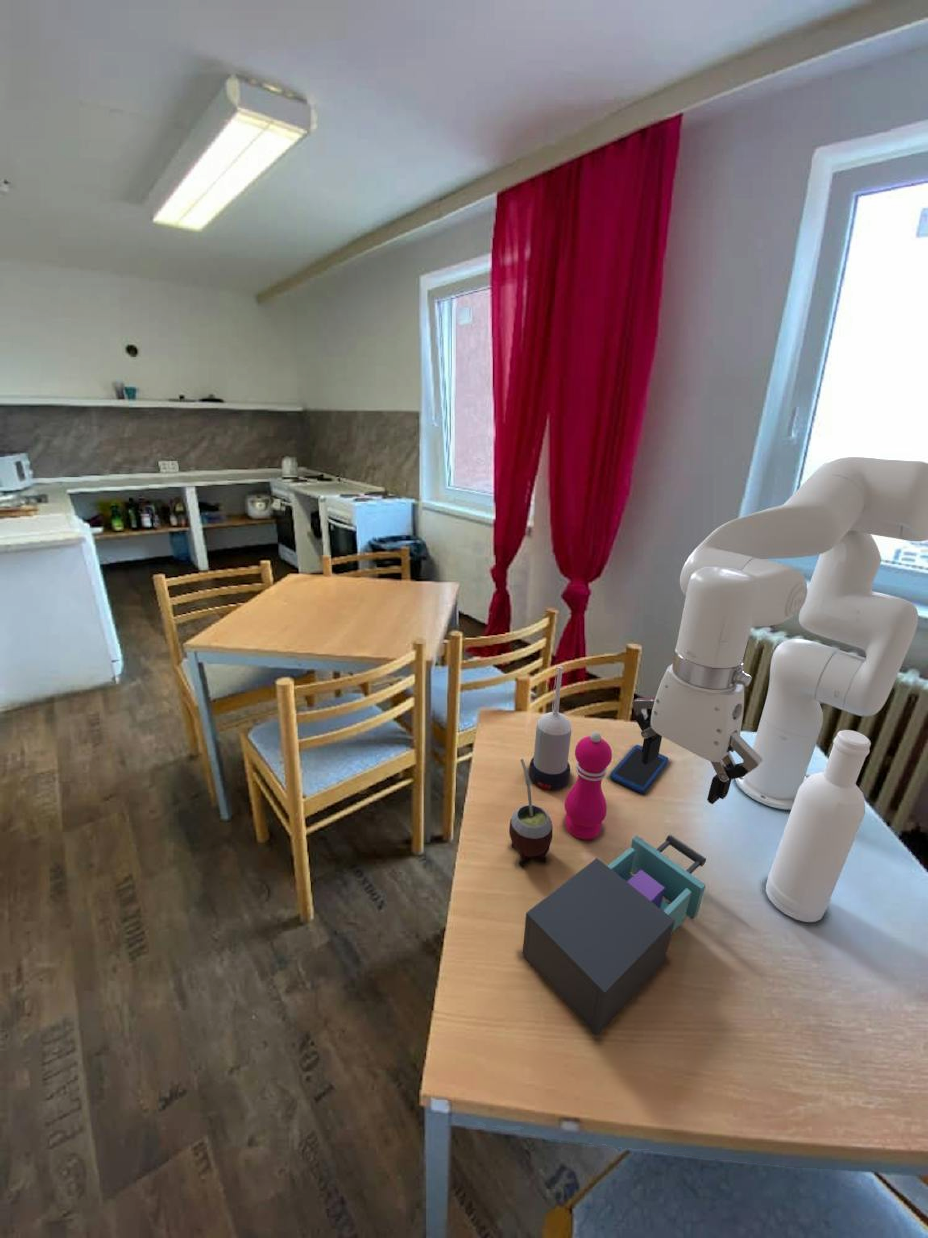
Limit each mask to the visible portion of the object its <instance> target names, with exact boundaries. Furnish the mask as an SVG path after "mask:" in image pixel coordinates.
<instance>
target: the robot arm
mask: <svg viewBox="0 0 928 1238" xmlns="http://www.w3.org/2000/svg"><path fill="white" fill-rule="evenodd" d="M873 536H878V537H885V538H890V539H897V540H902V541H908V542H909V541H910V542H925V541H928V462H926V461H921V460H916V459H906V458H905V459H904V458H891V457H877V456H866V455H842V456H837V457H835V458H831V459H830V460H828V461H826V462H825V463H823V464H821V466H819V467H818V468H817V469H816V470H815V471H814V472H813V473H812V474H811V475H810V476H809V477H808V479H806V480H805V482H804V483H802V484H801V486H800V487H799V488H798V489H797V490H796V491H794V493H793V494H792V495H791V496H790V497H789V498H788V499H787V500H786V501H785V502H784V503H783V504H781V505H777V506H773V507H769V508H766V509H763V510H759V511H756V512H753V513H750V514H746V515H744V516H740V517H737V518H734V519H732V520H730V521H729V520H728V522H725V523H723V524H722V525H720V526H718V527H717V528H716V529H714V530H713V531H711V533H710V534H709V535H708V536H707V537H705V539H704V540H702V542H700V544H698V546H697V547H696V548H695V549H694V550H693V551H692V552H691V554H690V555H689V556H688V558H687V559H686V560H685V562H684V563H683V564H684V565H683V566H682V569H681V572H680V574H679V575H680V576H679V586H680V590H681V592H682V594H683V595H684V596H685V599H684V605H683V611H682V615H681V620H680V625H679V632H678V637H677V640H676V641H677V642H676V646H675V651H674V656H673V661H672V663H671V664H670V665H668V666H667V668H666V670H665V672H664V674H663V677H662V679H661V681H660V683H659V686H658V689H657V692H656V694H655V697H637V698H636V699H634V700H632V704H631V705H632V707H633V712H634V715H636V716H635V721H636V723H637V725H638V726H639V729H640V730H641V731H640V735H641V738H642V739H643V741H642V753H643V757H642V763H643V764H645V765H646V764H649V763H650V762H652V761H653V760H655V759H656V758H657V757H658V755H659V754H660V750H661V744H662V739H663V738H664V739H666V740H668V741H670V742H671V743H673V744H675V745H677V746H679V747H681V748H683V749H685V750H687V751H688V752H691V753H692V754H694V755H697V756H698V757H700V758H702V759H703V760H706V761H708V762H710V763H711V765H712V767H713V769H714V771H715V775H714V776H713V777H712V779H711V782H710V787H709V791H708V795H707V798H706V800H707V802H708V803H709V804H711V805H714V804H715V803H716V802H717V801H718V800H720V799H721V800H724V799H725V798H726V797H727V795H728V793H729V791H730V787H731V784H732V780H735V782H736V784H737V786H738V788H740V789H741V791H742V792H743V793H744V794H746V795H747V796H749V798H751V799H752V800H754V801H756V802H758V803H760V804H762V805H765V806H768V807H770V808H775V809H777V810H778V809H779V810H786V811H787V810H788V811H791V810H792V807H793V804H794V801H795V798H796V795H797V792H798V789H799V787H800V785H801V784H802V783H803V782H804V781H805V780H806V779H807V778H808V777H809V776H810V775H811V774H808V773H807V771H808V768H809V766H810V763H811V760H812V757H813V754H814V751H815V748H816V746H817V743H818V739H819V736H820V734H821V732H822V731H821V730H822V728H823V724H824V713H823V709H822V706H821V704H820V703H823V704H825V705H828V706H832V707H833V708H836V709H838V710H841V711H843V712H847V713H849V714H853V715H855V716H859V717H865V718H866V717H867V718H868V717H872V716H875V715H877V713H879V712H880V711H881V710H882V708H883V707H884V706H885V704H886V702H887V700H888V698H889V696H890V693H891V692H892V689H893V687H894V684H895V682H896V680H897V677H898V675H899V672H900V671H901V667H902V665H903V663H904V660H905V658H906V656H907V653H908V651H909V649H910V646H911V645H912V642H913V639H914V637H915V633H916V631H917V627H918V623H919V611H918V609H917V607H916V606H915V604H914V603H913V602H911V601H909V600H907V599H905V598H902V597H899V596H895V595H891V594H886V593H882V592H878V591H874V590H873V584H874V581H875V579H876V576H877V574H878V571H879V569H880V567H881V563H882V556H881V552H880V550H879V548H878V545H877V543H876V540H875V539H874V537H873ZM814 556H818V559H817V562H816V564H815V568H814V570H813V573H812V576H811V578H810V581H809V583H808V582H807V580H806V577H805V576H804V574H803V573H802V572H801V571H800V570H798V569H796V568H795V567H793V566H790V565H787V564H784V563H781V562H776V561H772V560H778V559H779V560H781V559H783V560H784V559H785V560H786V559H796V558H805V557H806V558H807V557H814ZM798 613H799V614H798ZM797 614H798V622H799V624H800V626H801V628H803V630H805V631H807V632H809V633H812V634H814V635H817V636H820V637H823V638H826V639H829V640H832V641H835V642H839V643H841V644H842V643H843V644H846V645H849V646H852V647H855V648H858V649H861V650H862V651H864V653H865V657H863V656H860V655H857V654H853V653H850V652H847V651H844V650H841V649H839V648H835V647H832V646H830V645H826V644H823V643H819V642H816V641H814V640H813V641H812V640H809V639H802V638H789V639H786V640H783V641H782V642H780V643H779V644H777V646H776V648H775V649H774V650H773V653H772V655H771V659H770V667H769V682H768V689H767V694H766V698H765V703H764V706H763V709H762V713H761V717H760V720H759V722H758V723H759V724H758V727H757V730H756V734H755V738H754V741H753V745H752V746H751V745H750V744H749V743H748V742H747V741H746V740H745V739H744V738H743V737H742V736H741V733H742V725H743V718H744V710H745V709H744V708H745V687H749V685H750V684H751V682H752V679H753V676H752V675H751V674H747V672H745V671H744V667H745V662H744V658H745V654H746V649H747V645H748V641H749V637H750V634H751V631H752V629H753V628H760V627H769V626H775V625H779V624H782V623H785V622H786V621H788V620H790V619H791V618H793V617H794V616H795V615H797ZM648 709H649V710H651V715H650V714H649V712H648ZM734 752H735V753H736V754H737V755H738V756H739V757H740V758H741V759H742V762H739V763H736V762H735V759H734V758H733V755H732V754H731V753H734Z"/></svg>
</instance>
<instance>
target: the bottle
mask: <svg viewBox="0 0 928 1238" xmlns="http://www.w3.org/2000/svg"><path fill="white" fill-rule="evenodd" d="M832 742H833V745H832V748H831V751H830V753H829V756H828V759H827V762H826V764H825V768H824V771H819V772H814V773H811V774H809V775H810V776H809V777H808V778H807V779H806V780H805V781H804V782H803V783H802V784H801V785H800V787H799V789H798V792H797V795H796V798H795V801H794V804H793V807H792V810H790V812H789V816H788V817H787V818H788V819H787V821H786V823H785V824H786V825H785V828H784V831H783V833H782V836H781V840H780V842H779V845H778V848H777V851H776V854H775V856H774V860H773V863H772V866H771V869H770V870H769V873H768V875H767V881H766V884H765V892H766V895H767V897H768V899H769V901H770V902H771V903H772V904H773V905H774V906H775V908H776V909H778V910H779V911H781V913H783V914H785V915H787V916H788V917H790V918H792V919H794V920H796V921H800V922H805V923H816V922H818V921H820V920H822V918H823V916H824V914H825V912H826V911H827V909H828V907H829V905H830V903H831V898H832V895H833V893H834V891H835V888H836V886H837V883H838V881H839V878H840V877H841V874H842V872H843V869H844V866H845V864H846V861H847V859H848V857H849V854H850V851H851V849H852V846H853V844H854V842H855V839H856V837H857V834H858V832H859V829H860V827H861V825H862V823H863V819H864V817H865V815H866V803H865V797H864V796H865V795H864V793H863V791H862V790H861V789H860V787H859V786H858V785H857V781H858V778H859V775H860V773H861V770H862V767H863V766H864V762H865V760H866V757H867V756H868V755H869V754H870V751H871V750H870V748H871V745H872V742H871V740H870V739H869V738H868V737H867V736H866V735H864V734H863V733H861V732H858V731H855V730H852V729H842V730H839V731H838V732H837V734H836V736H835V737H834V738H833V740H832Z"/></svg>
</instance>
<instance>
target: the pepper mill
mask: <svg viewBox="0 0 928 1238" xmlns="http://www.w3.org/2000/svg"><path fill="white" fill-rule="evenodd" d="M574 756H575V759H576V765H575V772H576V773H577V779H576V782H575V783H574V784H573V786H572V788H571V789H570V790H569V791H568V793H567V795H566V797H565V800H564V811H565V813H566V814H565V819H564V825H565V829H566V830H567V831H568V833H569V834H570V835H572V836H573V837H575V838H577V839H581V840H587V841H588V840H593V839H595V838H597V837H598V836H599V835H600V834H601V830H602V826H603V825H602V824H603V821H605V819H606V817H607V811H608V806H607V801H606V797H605V795H604V792H603V790H602V782H603V779H605V778H606V775H607V770H608V767H609V765H610V764H611V762H612V759H613V753H612V748H611V746H610V744H609V743H608V742H607V741H606V740H605V739H603V738H602V735H601V733H600V732H599V731H592V732H591V733H590V735H589V736H585V737H583V738H581V739H580V740H579V741H578V742H577V744H576V745H575V749H574Z"/></svg>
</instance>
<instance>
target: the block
mask: <svg viewBox="0 0 928 1238" xmlns="http://www.w3.org/2000/svg"><path fill="white" fill-rule="evenodd" d="M632 876H633V877H632V878H631V879H630V880H628V881H627V882H628V883H629V884H630V885H631V886H633V887H634V888H635V889H636V890H638V891H639V892H640V893H641V894H643V895H644V896H645V897H646V898H648V899H649V900H650V901H651V902H653V903H654V904H655V905H656V906H658V907H659V908H660V907H661V902H662V899H664V897H663V894H664V890H665V887H663V886H662V885H661V884H659V883H658V882H657V881H655V880H654V879H653V878H652V877H650V876H649V875H648V874H646V873H645V872H644V871H642V870H640V871H639V872H638V873H637V874H635V875H634V874H633V875H632Z"/></svg>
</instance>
